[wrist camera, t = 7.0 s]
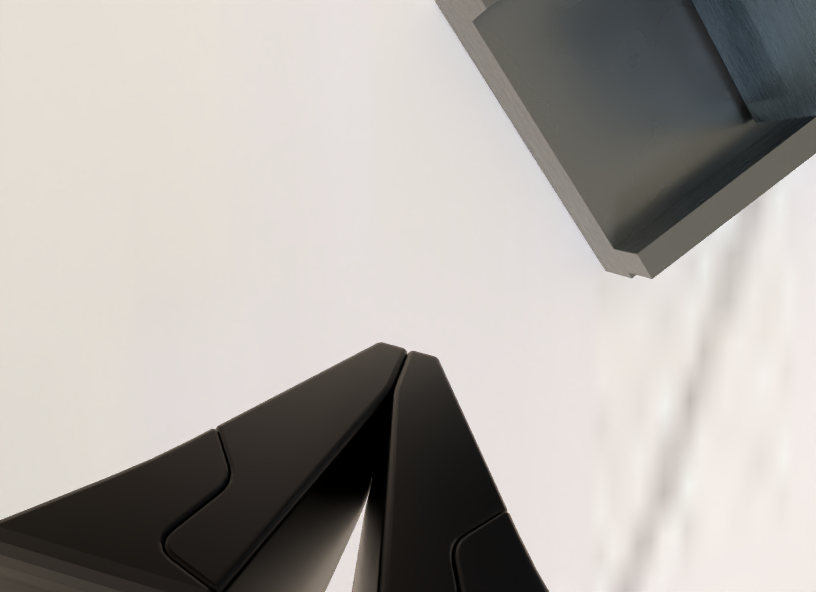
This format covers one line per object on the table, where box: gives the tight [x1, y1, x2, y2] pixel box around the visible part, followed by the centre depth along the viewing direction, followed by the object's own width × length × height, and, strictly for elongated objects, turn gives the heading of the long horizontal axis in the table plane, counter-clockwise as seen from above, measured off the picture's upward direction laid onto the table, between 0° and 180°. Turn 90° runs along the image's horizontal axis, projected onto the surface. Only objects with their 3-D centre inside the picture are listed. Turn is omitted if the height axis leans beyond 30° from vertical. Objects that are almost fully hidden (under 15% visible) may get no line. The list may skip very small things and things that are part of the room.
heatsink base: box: [435, 0, 816, 279], centre depth 16 cm, size 11×9×5 cm
